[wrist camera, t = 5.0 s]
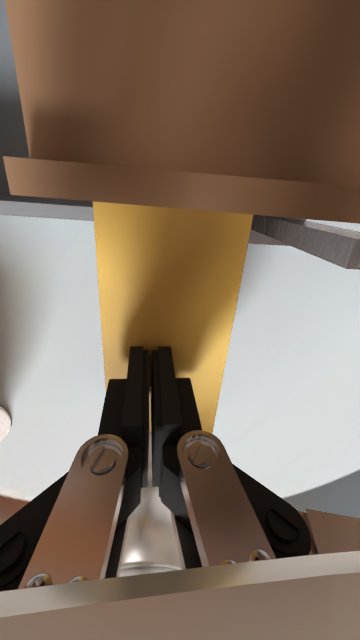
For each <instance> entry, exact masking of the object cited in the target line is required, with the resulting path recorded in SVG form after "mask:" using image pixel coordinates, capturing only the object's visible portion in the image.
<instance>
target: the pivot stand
mask: <svg viewBox="0 0 360 640" xmlns="http://www.w3.org/2000/svg"><path fill="white" fill-rule="evenodd" d="M248 243H252V244H268V245H284V246H292V247H295V248H297V249H300V250H302V251H305V252H307V253H309V254H312V255H314V256H317V257H319V258H321V259H324V260H326V261H329V262H331V263H334V264H336V265H338V266H341V267H343V268H346V269H360V232H357V231H352V230H347V229H343V228H338V227H333V226H328V225H323V224H319V223H314V222H309V221H306V219H301V218H289V217H276V216H264V215H253V219H252V224H251V230H250V235H249V240H248Z"/></svg>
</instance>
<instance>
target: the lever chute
mask: <svg viewBox="0 0 360 640" xmlns="http://www.w3.org/2000/svg"><path fill="white" fill-rule="evenodd" d="M5 5H6V11H7V18H8V24H9V30H10V36H11V43H12V49H13V55H14V62H15V68H16V74H17V80H18V87H19V93H20V99H21V106H22V112H23V118H24V125H25V131H26V137H27V143H28V150H29V156H30V158H18V157H6V156H3V160H4V165H5V170H6V175H7V180H8V185H9V190H10V195H21V196H33V197H45V198H57V199H69V200H81V201H93V213H94V227H95V241H96V255H97V270H98V284H99V298H100V312H101V327H102V341H103V355H104V369H105V384H106V392H107V387H108V382H109V379H127V371H128V361H129V352H130V346H143V350H149V432H151V379H152V351H153V350H157V348H158V347H171V351H172V357H173V363H174V370H175V376H176V378H190V380H191V383H192V388H193V392H194V396H195V400H196V405H197V409H198V413H199V418H200V422H201V426H202V431H206V432H209V433H211V434H212V432H213V426H214V421H215V416H216V410H217V405H218V400H219V394H220V389H221V384H222V378H223V373H224V368H225V363H226V357H227V352H228V347H229V341H230V336H231V331H232V325H233V320H234V315H235V309H236V304H237V299H238V293H239V288H240V283H241V278H242V272H243V267H244V262H245V256H246V251H247V246H248V240H249V235H250V230H251V224H252V219H253V215H264V216H276V217H289V218H301V219H313V220H325V221H337V222H350V223H360V0H5Z"/></svg>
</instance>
